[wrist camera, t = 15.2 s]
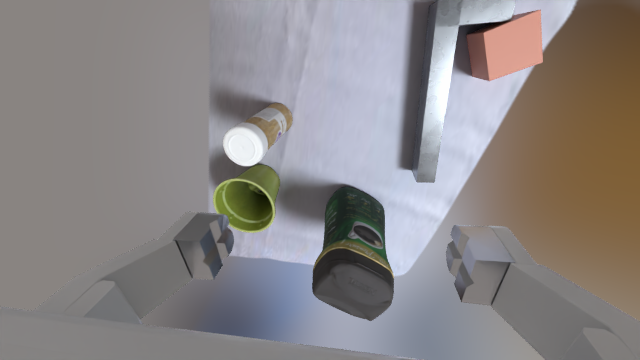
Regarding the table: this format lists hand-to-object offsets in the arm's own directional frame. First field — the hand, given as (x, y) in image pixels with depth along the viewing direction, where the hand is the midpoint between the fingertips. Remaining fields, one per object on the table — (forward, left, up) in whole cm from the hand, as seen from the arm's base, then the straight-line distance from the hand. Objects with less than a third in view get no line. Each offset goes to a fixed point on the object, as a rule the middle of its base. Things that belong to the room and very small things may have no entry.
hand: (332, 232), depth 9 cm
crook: (+1, +13, -30) cm, 32 cm away
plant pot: (+14, -15, -30) cm, 36 cm away
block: (-5, +16, -30) cm, 35 cm away
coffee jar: (+19, +1, -30) cm, 36 cm away
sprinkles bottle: (+3, -11, -30) cm, 32 cm away
